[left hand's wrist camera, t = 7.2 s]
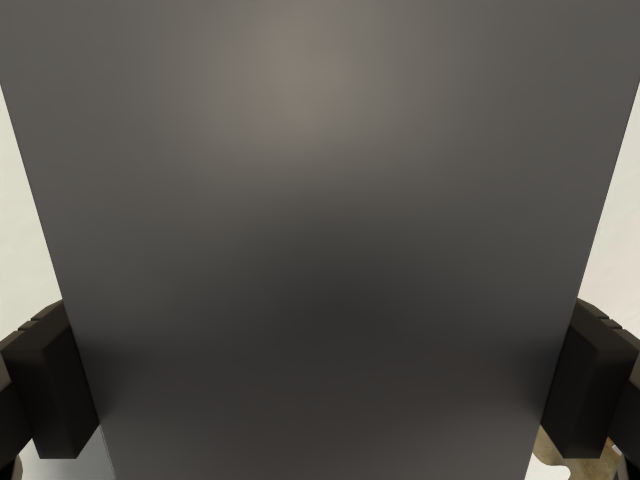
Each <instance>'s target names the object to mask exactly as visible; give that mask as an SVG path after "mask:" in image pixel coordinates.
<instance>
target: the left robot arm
mask: <svg viewBox="0 0 640 480" xmlns="http://www.w3.org/2000/svg"><path fill="white" fill-rule="evenodd" d="M540 425H541V426H542V428H543V429H544V431H545V432H546V434H547V435H548V437H549V438H550V439H551V441H552V442H553V444H554V445H555V447H556V448H557V450H558V451H559V453H560V454H561V456H562V457H563V459H600V457H601V454H602V451H603V449H604V446H605V443H606V440H607V438H608V437H609V438H610V439H611V440H612V441H613V443H614V444H615V445H616V446H617V447H618V448H619V450H620V451H621V452H622V454H621V457H620V459H619V462H618V464H617V467H616V469H615V472H614V474H613V477H612V479H611V480H640V340H639V339H638V338H636V337H635V336H634V335H632V334H631V333H630V332H628V331H627V330H626V329H622V326H621V325H619V324H618V323H617V322H615V321H614V320H613V319H609V316H607V315H606V314H605V313H603V312H602V311H601V310H599V309H598V308H597V307H595V306H594V305H592V304H590V303H588V302H585V301H583V300H581V299H579V298H577V300H576V303H575V306H574V310H573V313H572V317H571V320H570V324H569V327H568V331H567V334H566V337H565V341H564V344H563V348H562V351H561V355H560V358H559V362H558V365H557V368H556V372H555V375H554V379H553V382H552V386H551V389H550V393H549V396H548V400H547V403H546V406H545V410H544V413H543V417H542V420H541V424H540ZM98 426H99V422H98V419H97V415H96V412H95V409H94V405H93V402H92V398H91V395H90V391H89V388H88V384H87V381H86V378H85V374H84V371H83V367H82V364H81V360H80V357H79V354H78V350H77V347H76V343H75V340H74V336H73V333H72V329H71V326H70V323H69V319H68V316H67V312H66V309H65V305H64V302H63V299H62V300H60V301H57V302H55V303H53V304H51V305H49V306H47V307H45V308H44V309H43V310H41V311H40V312H39V313H37V314H36V315H35V316H33V317H32V318H31V321H27V322H26V323H24V324H23V325H22V326H20V327H19V328H18V331H14V332H12V333H11V334H10V335H8V336H7V337H6V338H4V339H3V340H2V341H0V480H21V479H22V473H23V468H22V462H21V459H20V457H19V453H20V451H21V450H22V449H23V448H24V447H25V446H26V444H27V443H28V442H29V441H30V440H31V439H33V442H34V444H35V447H36V450H37V452H38V455H39V458H40V459H76V458H77V457H78V455H79V454H80V452H81V451H82V449H83V448H84V446H85V445H86V443H87V442H88V440H89V439H90V438H91V436H92V435H93V433H94V432H95V430H96V429H97V427H98Z"/></svg>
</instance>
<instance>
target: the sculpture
mask: <svg viewBox="0 0 640 480" xmlns="http://www.w3.org/2000/svg"><path fill="white" fill-rule="evenodd" d="M613 445H615V444H614V443H613V441H612V440H611V439H610V438H609V437H608V438H607V440H606V443H605V446H604V449H603V451H602V454H601V457H600V459H563V457H562V456H561V454H560V453H559V451H558V450H557V448H556V447H555V445H554V444H553V442H552V441H551V439H550V438H549V437H548V435H547V434H546V432H545V431H544V429H543V428H542V426H541V425H540V427H539V431H538V434H537V437H536V441H535V444H534V448H533V451H532V452H533V453H534V455H535V456H536V457H537V458H538V459H539V460H540V461H541V462H542V463H544V464H546V465H550V466H557V465H562V466H567V467H568V468H569V470H570V473H571V475H570V477H569V479H568V480H611V479H612V477H613V474H614V472H615V469H616V467H617V464H618V462H619V459H620V457H621V456H620V455H619V454H617V453H616V452H615V451H614V450H613V449H612V446H613Z"/></svg>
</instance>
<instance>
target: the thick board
mask: <svg viewBox="0 0 640 480" xmlns="http://www.w3.org/2000/svg"><path fill="white" fill-rule="evenodd" d="M639 82H640V0H0V85H1V89H2V92H3V95H4V99H5V102H6V106H7V109H8V113H9V116H10V120H11V123H12V126H13V130H14V133H15V137H16V140H17V144H18V147H19V150H20V154H21V157H22V161H23V164H24V168H25V171H26V175H27V178H28V181H29V185H30V188H31V192H32V195H33V199H34V202H35V206H36V209H37V212H38V216H39V219H40V223H41V226H42V230H43V233H44V237H45V240H46V243H47V247H48V250H49V254H50V257H51V261H52V264H53V267H54V271H55V274H56V278H57V281H58V285H59V288H60V292H61V295H62V298H63V302H64V305H65V309H66V312H67V316H68V319H69V323H70V326H71V329H72V333H73V336H74V340H75V343H76V347H77V350H78V354H79V357H80V360H81V364H82V367H83V371H84V374H85V378H86V381H87V384H88V388H89V391H90V395H91V398H92V402H93V405H94V409H95V412H96V415H97V419H98V422H99V426H100V429H101V433H102V436H103V440H104V443H105V446H106V450H107V453H108V457H109V460H110V464H111V467H112V471H113V474H114V477H115V480H524V479H525V475H526V472H527V468H528V465H529V462H530V458H531V455H532V451H533V448H534V444H535V441H536V437H537V434H538V431H539V427H540V424H541V420H542V417H543V413H544V410H545V406H546V403H547V400H548V396H549V393H550V389H551V386H552V382H553V379H554V375H555V372H556V368H557V365H558V362H559V358H560V355H561V351H562V348H563V344H564V341H565V337H566V334H567V331H568V327H569V324H570V320H571V317H572V313H573V310H574V306H575V303H576V300H577V296H578V293H579V289H580V286H581V282H582V279H583V275H584V272H585V269H586V265H587V262H588V258H589V255H590V251H591V248H592V244H593V241H594V237H595V234H596V231H597V227H598V224H599V220H600V217H601V213H602V210H603V206H604V203H605V200H606V196H607V193H608V189H609V186H610V182H611V179H612V175H613V172H614V169H615V165H616V162H617V158H618V155H619V151H620V148H621V144H622V141H623V137H624V134H625V131H626V127H627V124H628V120H629V117H630V113H631V110H632V106H633V103H634V100H635V96H636V93H637V89H638V86H639Z"/></svg>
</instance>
